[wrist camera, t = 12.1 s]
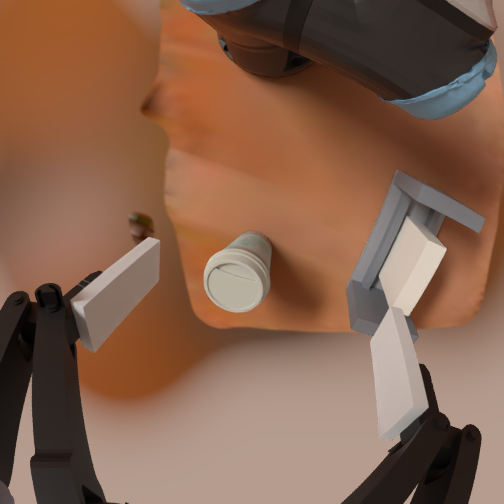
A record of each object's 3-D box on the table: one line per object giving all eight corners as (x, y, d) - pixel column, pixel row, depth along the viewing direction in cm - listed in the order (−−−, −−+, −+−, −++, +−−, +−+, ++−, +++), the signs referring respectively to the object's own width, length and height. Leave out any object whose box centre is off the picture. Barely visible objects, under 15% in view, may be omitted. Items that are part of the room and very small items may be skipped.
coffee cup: (292, 251, 44) (282, 293, 33) (253, 281, 48) (234, 326, 37) (253, 211, 42) (231, 241, 32) (216, 244, 46) (186, 281, 35)
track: (396, 169, 35) (422, 183, 25) (450, 196, 34) (485, 218, 25) (345, 286, 44) (350, 329, 34) (396, 303, 43) (411, 346, 34)
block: (405, 214, 36) (428, 240, 28) (421, 221, 36) (447, 249, 27) (377, 272, 41) (389, 310, 32) (393, 278, 41) (408, 316, 32)
